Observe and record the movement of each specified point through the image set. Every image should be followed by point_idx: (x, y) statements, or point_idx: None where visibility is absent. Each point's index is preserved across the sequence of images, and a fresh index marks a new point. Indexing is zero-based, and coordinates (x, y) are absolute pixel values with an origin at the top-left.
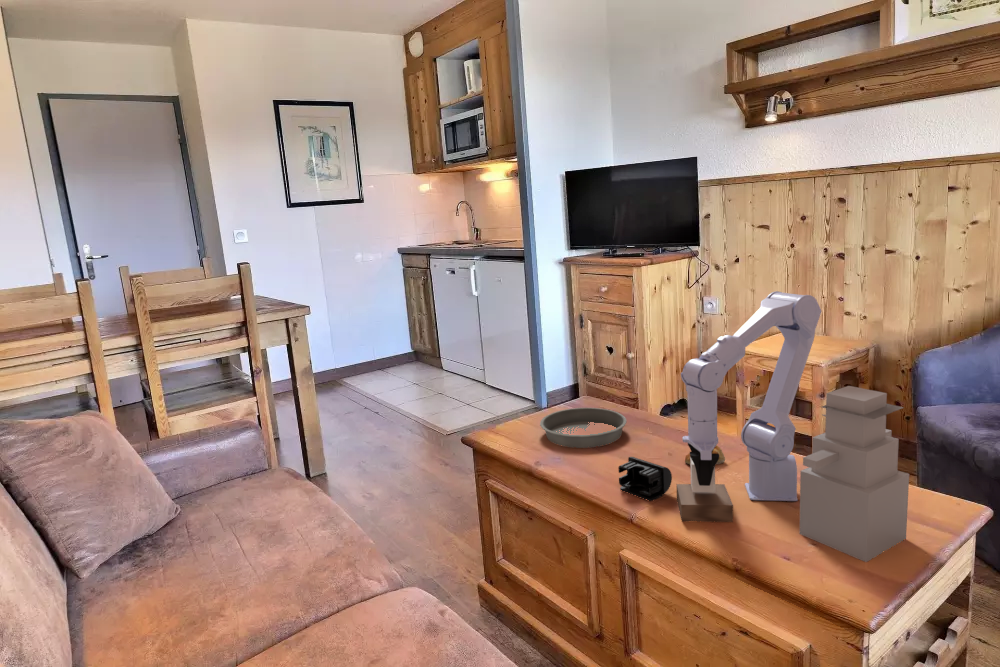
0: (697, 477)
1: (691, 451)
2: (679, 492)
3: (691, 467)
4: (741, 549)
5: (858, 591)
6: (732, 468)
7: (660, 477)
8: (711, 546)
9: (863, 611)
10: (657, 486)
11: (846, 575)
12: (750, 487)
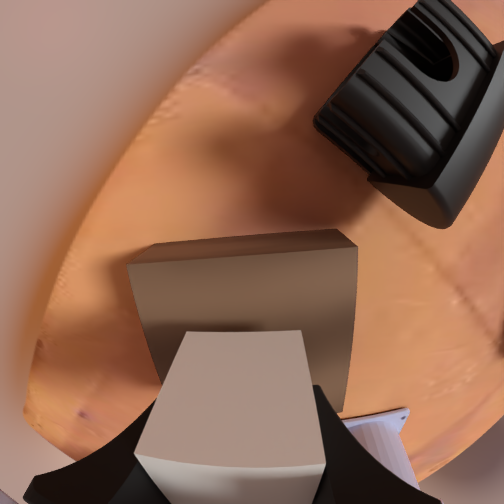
0: (147, 408)
1: (336, 500)
2: (256, 259)
3: (195, 426)
4: (72, 364)
5: (58, 440)
6: (488, 369)
7: (392, 165)
8: (56, 311)
9: (31, 424)
10: (362, 149)
11: (81, 448)
12: (360, 434)
